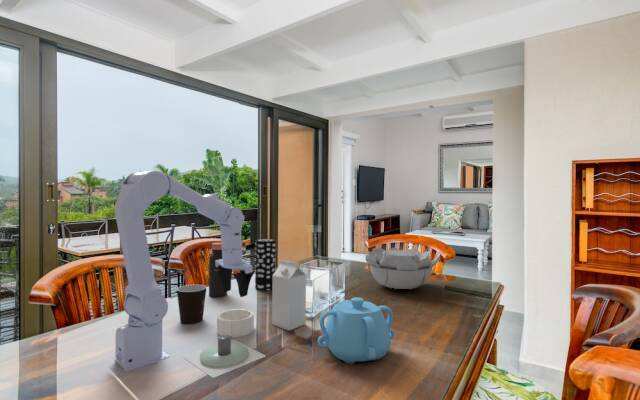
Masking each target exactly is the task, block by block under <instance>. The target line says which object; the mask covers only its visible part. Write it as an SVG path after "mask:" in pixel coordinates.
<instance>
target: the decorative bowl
mask: <svg viewBox="0 0 640 400" xmlns="http://www.w3.org/2000/svg"><path fill="white" fill-rule="evenodd" d="M440 259H441V254H439V255H438V256H437V257H435V258H434V259H432V260H431V252H430V251H429V250H425V251H424V252H423V253H421V252H420V251H419V249H417V248H414V247H413V248H410V249H409V248H407V249H406V250H405V249H401V250H400V249H399V248H396V247H391V248H390V249H389V250H386V249H383V248H380V249H378V248H376V247H373V248H372V250H371V251H370V250H368V251H367V254H365V261H366V262H367V264H368V265H369V267H370V272H371V274H372V275H371V276H373V278H374V279H375V281H376V282H377V283H378V284H379V285H381V286H384V287H387V288H389V289H392V288H394V289H393V290H397V289H409V290H413V289H416V288H418V287H421V285H422V286H423V285H425V284H426V283H427V281H428V280H429V278H430V277H431V275H432V272H433V271H432V270H433V267H435V265H437V264H438V262H439V260H440Z"/></svg>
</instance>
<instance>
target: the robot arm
mask: <svg viewBox="0 0 640 400" xmlns="http://www.w3.org/2000/svg"><path fill="white" fill-rule="evenodd" d="M120 184H121V185H120V186H121V187H120V188H121V189H120V191H119V194H118V195H117V196H118V197H117V198H116V199H117V200H116V202H115V205H114V214H115V220H116V226H117V231H118V235H119V241H120V246H121V251H122V256H123V261H124V267H125V272H126V277H127V286H126V287H125V288H124V294H125V296H124V301H123V303H122V305H123V306H122V307H123V310H124V312H125V313H126V314H127V315H128V319H127V320H128V321H127V323H126V324H124V325H122V326H120V327H118V328H116V332H115V357H114V361H115V362H116V363H117V364H118V365H119V366H120V367H121V368H122V369H123V370H124V371H125V372H129V371H132V370H135V369H138V368H141V367H143V366H144V367H145V366H147V365H151V364H152V363H153V364H154V363H156V362H160V361H161V360H165V359H167V358H170V355H169V354H167V353H166V352H165V351H163V319H164V318H165V317H166V315H167V313H168V309H169V305H168V301H167V299H166V298H165V297H164V295H163V293H162V288H161V286H159V284H158V283H157V281H156V280H155V274H154V270H153V267H152V266H153V265H152V261H151V260H152V259H151V254H150V249H149V244H148V238H147V233H146V228H145V222H144V216H143V214H144V213H145V211H146V210H147V209H148V208H149V207H150V205H152V204H153V203H155V202H156V201H158V200H160V199H161V198H163V197H164V196H172V197H174V198H176V199H179V200H181V201H184V202H185V203H187V204H190V205H192V206H194V207H195V208H196V212H197V213H198V214H200V215H202V216H204V217H206V218H207V219H208V218H209V219H210V220H213V221H214V222H215V223H216V225H217V226H219V228H220V229H219V231H220V241H221V242H220V243H221V245H222V259H219V260H216V261H215V264H216V267H218V269H215V270H214V272H215V274H216V275H217V277H218V278H219V280H220V283H221V286H222V289H223V291H224V292H227V293H228V292H229V291H231V290H232V275H233V276H234V279H235V280H236V281H235V282H236V283H237V288H238V293H239V297H240V298H244V297H246V296H248V292H249V287H250V283H251V280H252V278H253V276H254V275H255V273H254V272H255V270H253V265H252V264H249V263H247V262H246V259H244V254H243V241H242V230H243V223H244V222H245V215H243V212H242V209H240V208H239V207H237V206H231V205H230V203H229V202H227V201H222V200H221V199H220V198H217V195H216V194H215V193H206V194H203V195H202V194H201V193H199V192H197V191H195V190H194V189H192V188H191V187H189V186H188V185H186V184H184V183H182V182H181V181H179V180H178V179H176V178H175V177H173V176H172V175H170V174H165V173H164V172H163V171H161V170H157V169H156V170H154V169H153V170H150V171H134V172H132V173H129V175H128V176H127V177H126V178H124V179H123V181H121V183H120ZM233 271H237V272H236V273H233ZM238 271H239V272H238Z"/></svg>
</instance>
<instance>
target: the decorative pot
mask: <svg viewBox="0 0 640 400" xmlns="http://www.w3.org/2000/svg"><path fill="white" fill-rule="evenodd" d="M383 311H387V319H386V318H385V316H384V314H383ZM326 318H327V321H326V324H325V319H326ZM393 319H394V312H393V310H392V309H391V308H390V307H389V306H386V305H383V304H382V305H378V306H377V305H376V304H374V303H373V302H370V301H366V300H365V299H364V298H363V297H352V298H350V299H345V300H343V301H342V302H339V303H335V304H334V306H333V308H332V309H327V310H326V311H324V312H322V313H321V315H320V316H319V327H320V330H321V333H322V335H319V337H318V338H317V344H318V346H319V347H321V348H328V350H329V351H330V353H332V354H333V356H335V357H336V358H337V359H338V360H341V361H343V362H344V363H345V362H346V364H348V363H352V364H354V363H356V362H368V361H377V360H376V359H379V358H380V359H381V358H383V357H384V356H385V355H386V354H387V353H388V352H389V350H390V349H391V346H392V339H394V337H395V331H394V330H393V329H392V328H391V326H392V324H393ZM323 339H324V341H322V340H323ZM380 359H379V360H380ZM353 362H354V363H353Z"/></svg>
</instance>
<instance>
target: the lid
mask: <svg viewBox="0 0 640 400" xmlns="http://www.w3.org/2000/svg"><path fill="white" fill-rule="evenodd" d="M231 340H232V337H231V336H228V335H223V336H220V335H219V336H218V338H217V344H218V345H217V344H214V345H211V346H209V347H206V348H207V349H206V348H204V349H205V350H203V349H202V350H203V351H202V352H201V354H200V362H201V363H202V364H203V365H205V366H209V367H216V368H220V367H229V366H233V365H236V364H239V363H241V362H243V361H244V360H245V359H246V358H247V356H248V349H247V348H246V347H245V346H243V345H241V344H236V343H231Z"/></svg>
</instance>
